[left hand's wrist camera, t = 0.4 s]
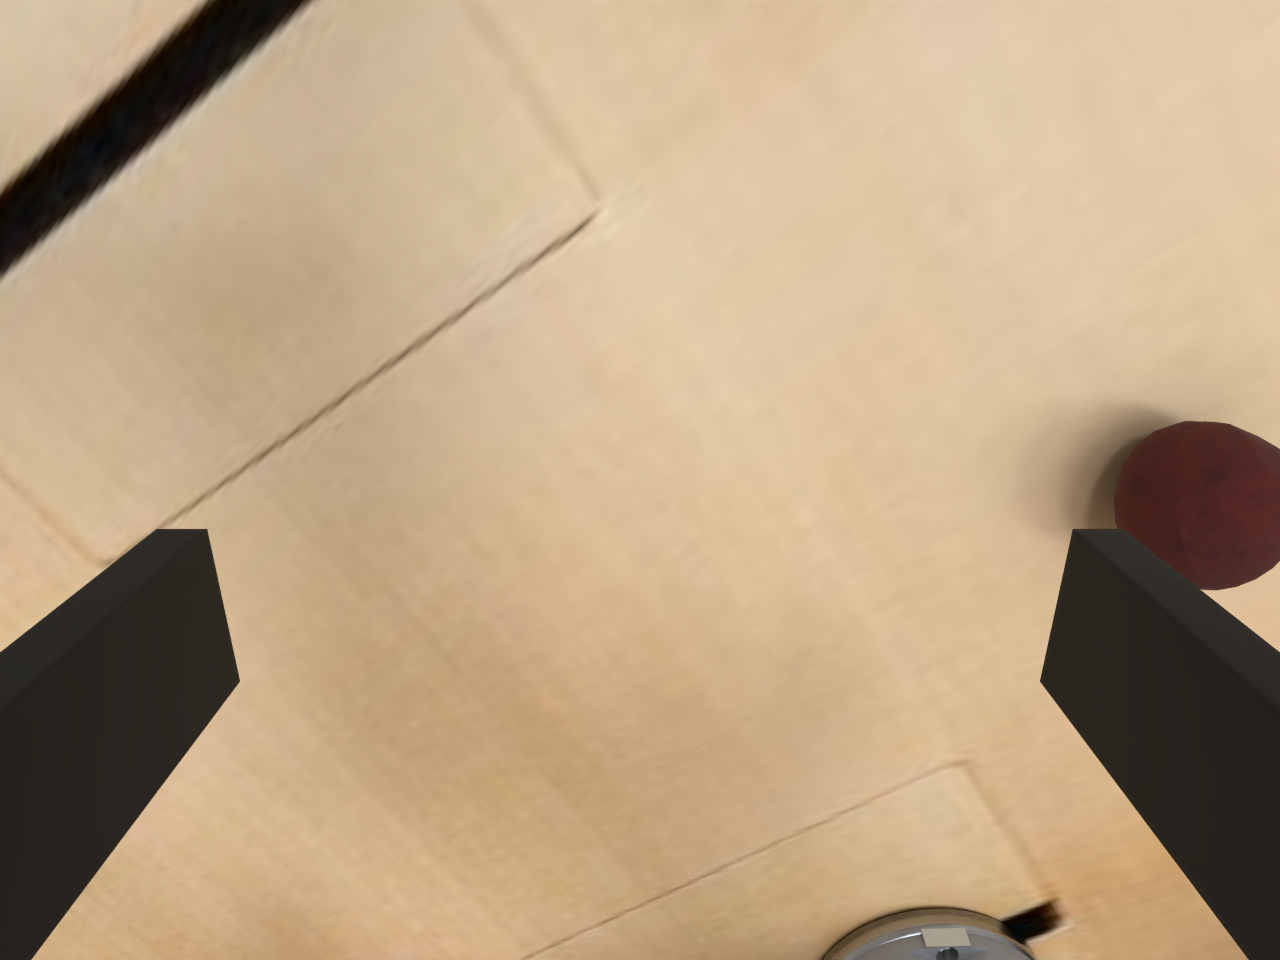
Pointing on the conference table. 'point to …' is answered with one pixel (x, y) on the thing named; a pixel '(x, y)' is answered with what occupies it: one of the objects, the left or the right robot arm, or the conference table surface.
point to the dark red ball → (1204, 502)
